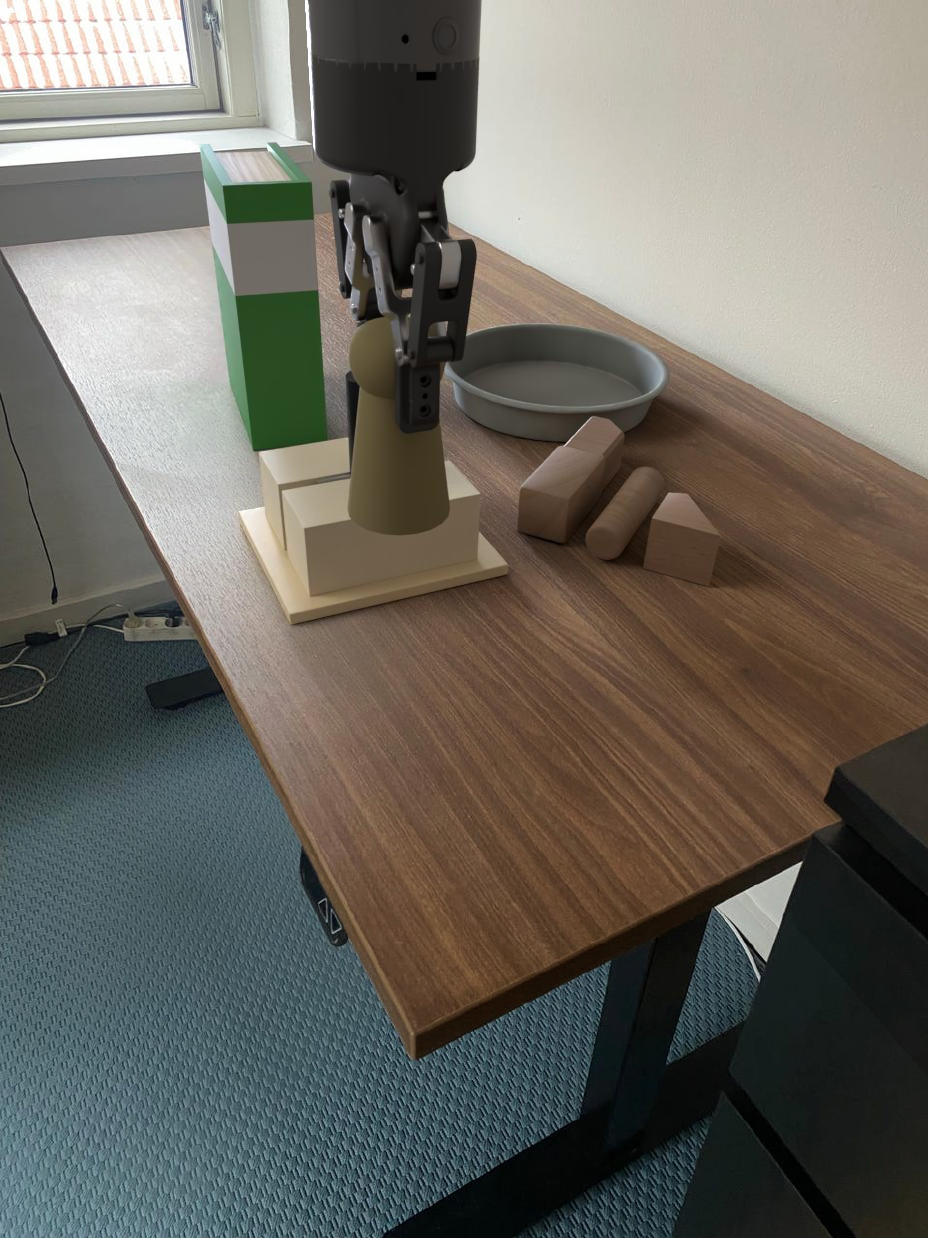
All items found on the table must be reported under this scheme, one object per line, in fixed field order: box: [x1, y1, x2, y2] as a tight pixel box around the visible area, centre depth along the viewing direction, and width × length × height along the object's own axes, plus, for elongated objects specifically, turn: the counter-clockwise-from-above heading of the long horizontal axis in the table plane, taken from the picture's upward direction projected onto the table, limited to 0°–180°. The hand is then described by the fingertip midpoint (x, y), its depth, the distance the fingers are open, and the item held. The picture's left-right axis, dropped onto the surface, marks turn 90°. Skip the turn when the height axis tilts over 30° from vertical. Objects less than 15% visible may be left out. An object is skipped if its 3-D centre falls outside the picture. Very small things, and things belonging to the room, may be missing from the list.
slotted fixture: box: [237, 436, 509, 625], centre depth 75 cm, size 18×16×7 cm
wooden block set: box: [516, 416, 721, 587], centre depth 81 cm, size 17×6×18 cm
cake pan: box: [444, 322, 671, 443], centre depth 101 cm, size 25×25×4 cm
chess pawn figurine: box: [347, 316, 450, 535], centre depth 51 cm, size 6×6×11 cm
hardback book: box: [199, 141, 329, 451], centre depth 91 cm, size 18×7×24 cm, turn 19°
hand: (397, 405), depth 51 cm, fingers closed on chess pawn figurine, 5 cm apart
